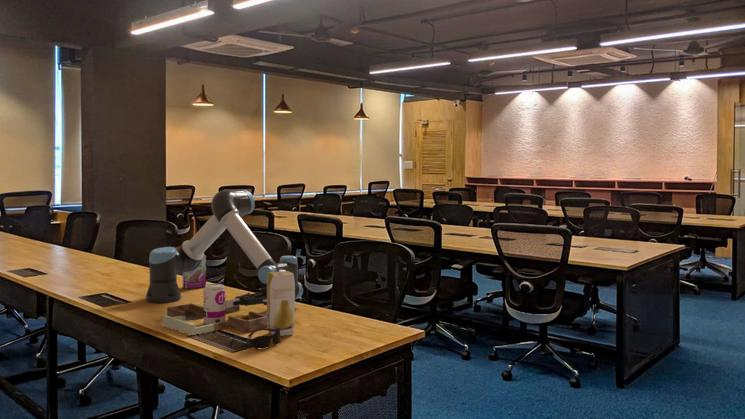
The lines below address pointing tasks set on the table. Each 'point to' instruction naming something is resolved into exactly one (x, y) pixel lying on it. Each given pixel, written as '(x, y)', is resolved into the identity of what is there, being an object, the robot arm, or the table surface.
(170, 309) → the brown shallow tray
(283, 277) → the juice carton
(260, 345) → the sunglasses
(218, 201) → the robot arm
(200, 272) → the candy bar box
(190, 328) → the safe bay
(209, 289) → the supplement can
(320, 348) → the table surface
